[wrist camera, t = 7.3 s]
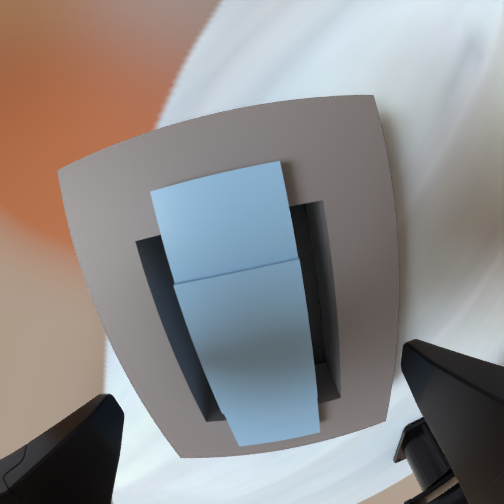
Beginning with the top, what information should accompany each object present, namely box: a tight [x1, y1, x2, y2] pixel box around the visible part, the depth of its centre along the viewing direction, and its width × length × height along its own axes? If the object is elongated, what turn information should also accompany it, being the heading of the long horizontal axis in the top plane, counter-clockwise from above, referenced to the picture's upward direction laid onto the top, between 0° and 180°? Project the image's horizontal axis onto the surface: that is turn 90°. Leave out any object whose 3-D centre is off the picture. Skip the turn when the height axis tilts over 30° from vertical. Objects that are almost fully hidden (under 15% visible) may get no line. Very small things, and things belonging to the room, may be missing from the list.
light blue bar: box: [150, 161, 320, 446], centre depth 11 cm, size 4×12×4 cm, turn 12°
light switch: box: [58, 95, 399, 458], centre depth 11 cm, size 16×12×3 cm
